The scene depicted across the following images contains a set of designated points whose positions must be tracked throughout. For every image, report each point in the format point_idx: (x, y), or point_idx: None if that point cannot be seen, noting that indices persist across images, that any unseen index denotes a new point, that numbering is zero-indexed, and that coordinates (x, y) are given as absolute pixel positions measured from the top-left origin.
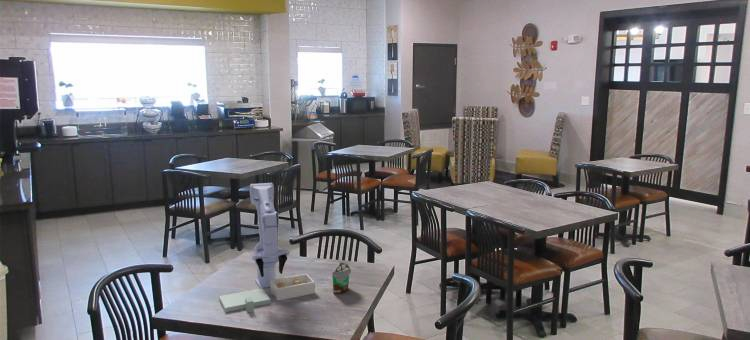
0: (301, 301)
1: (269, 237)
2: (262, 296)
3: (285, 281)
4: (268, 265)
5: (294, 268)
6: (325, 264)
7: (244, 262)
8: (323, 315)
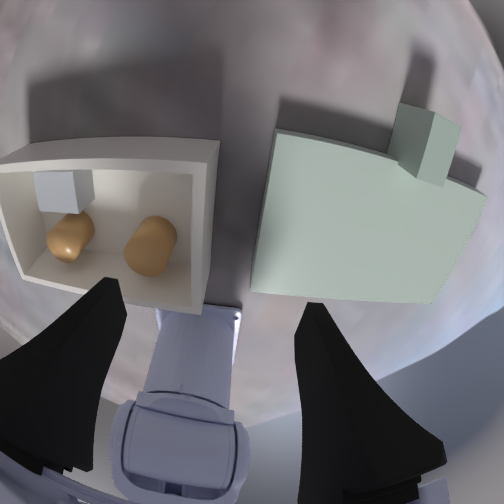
0: (102, 71)
1: None
2: (301, 200)
3: (119, 279)
4: (182, 403)
5: None
6: (20, 328)
7: None
8: None
